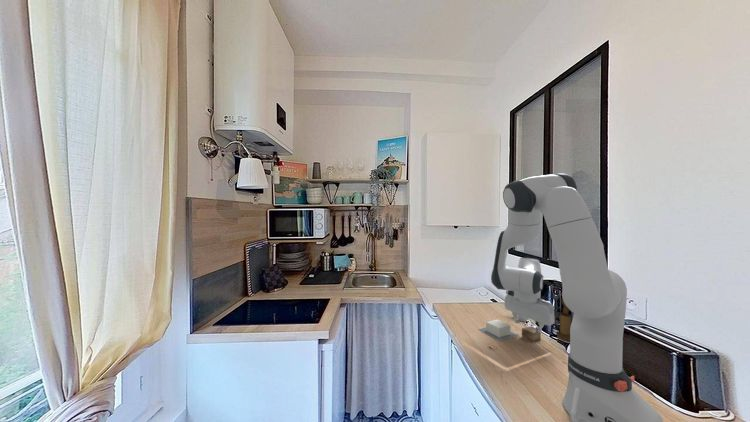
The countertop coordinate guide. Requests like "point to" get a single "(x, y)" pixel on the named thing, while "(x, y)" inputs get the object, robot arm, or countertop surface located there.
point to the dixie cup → (522, 318)
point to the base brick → (498, 328)
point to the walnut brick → (531, 334)
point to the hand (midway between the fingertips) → (527, 327)
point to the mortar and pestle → (564, 324)
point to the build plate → (497, 336)
